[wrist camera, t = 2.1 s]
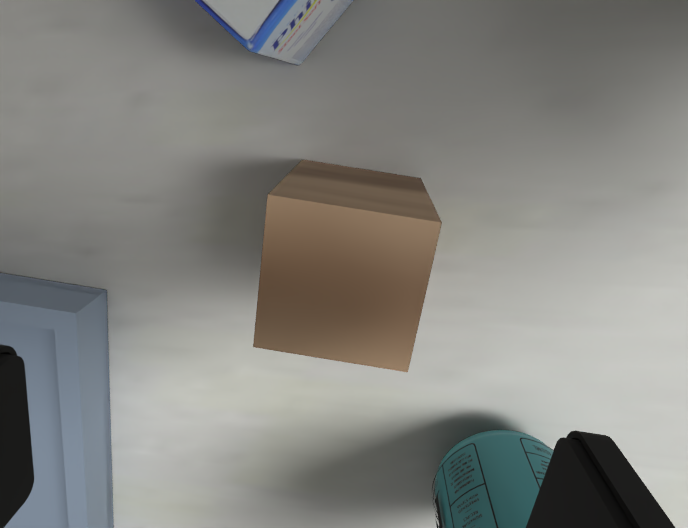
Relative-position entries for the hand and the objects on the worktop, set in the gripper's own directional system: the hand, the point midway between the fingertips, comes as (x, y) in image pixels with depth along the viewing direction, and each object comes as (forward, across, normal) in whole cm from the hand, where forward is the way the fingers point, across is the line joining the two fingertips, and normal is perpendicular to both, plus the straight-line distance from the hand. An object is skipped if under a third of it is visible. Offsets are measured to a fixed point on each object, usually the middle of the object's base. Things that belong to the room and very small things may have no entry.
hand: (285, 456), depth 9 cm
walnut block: (+14, -1, -1) cm, 14 cm away
